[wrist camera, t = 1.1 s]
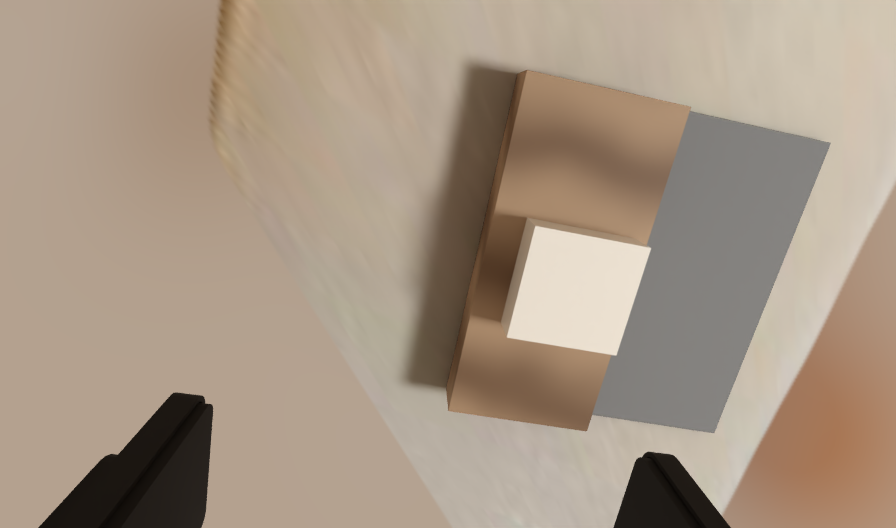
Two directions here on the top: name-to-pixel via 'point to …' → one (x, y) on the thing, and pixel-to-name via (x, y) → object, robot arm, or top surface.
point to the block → (573, 287)
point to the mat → (708, 270)
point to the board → (564, 202)
